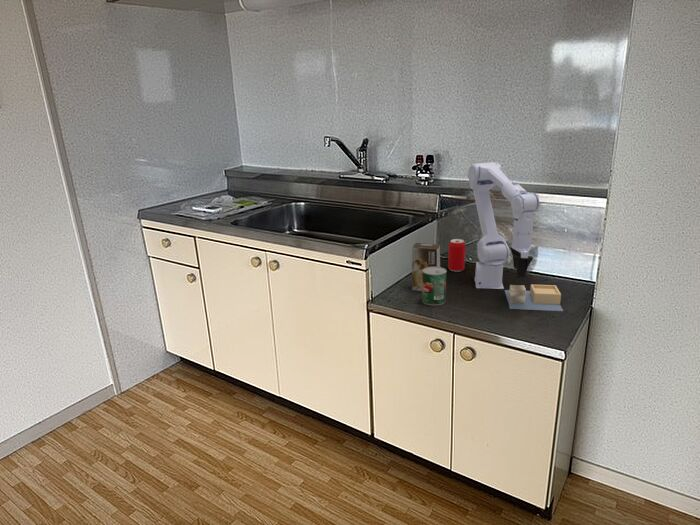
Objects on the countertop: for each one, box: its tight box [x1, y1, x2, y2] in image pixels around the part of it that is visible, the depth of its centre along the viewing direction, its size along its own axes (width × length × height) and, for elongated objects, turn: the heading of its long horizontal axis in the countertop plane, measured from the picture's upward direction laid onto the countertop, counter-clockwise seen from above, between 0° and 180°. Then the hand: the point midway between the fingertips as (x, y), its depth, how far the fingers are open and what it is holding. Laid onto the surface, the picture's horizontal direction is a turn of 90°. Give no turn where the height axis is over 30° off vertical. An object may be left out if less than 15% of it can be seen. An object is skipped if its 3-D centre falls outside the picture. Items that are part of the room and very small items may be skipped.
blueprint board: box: [504, 284, 564, 312], centre depth 161 cm, size 16×16×4 cm
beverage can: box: [447, 238, 466, 273], centre depth 191 cm, size 6×6×12 cm
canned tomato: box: [421, 266, 448, 307], centre depth 163 cm, size 8×8×11 cm
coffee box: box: [411, 242, 441, 292], centre depth 173 cm, size 9×6×16 cm
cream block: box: [509, 284, 527, 303], centre depth 160 cm, size 4×4×4 cm
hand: (519, 272), depth 158 cm, fingers open, 7 cm apart
